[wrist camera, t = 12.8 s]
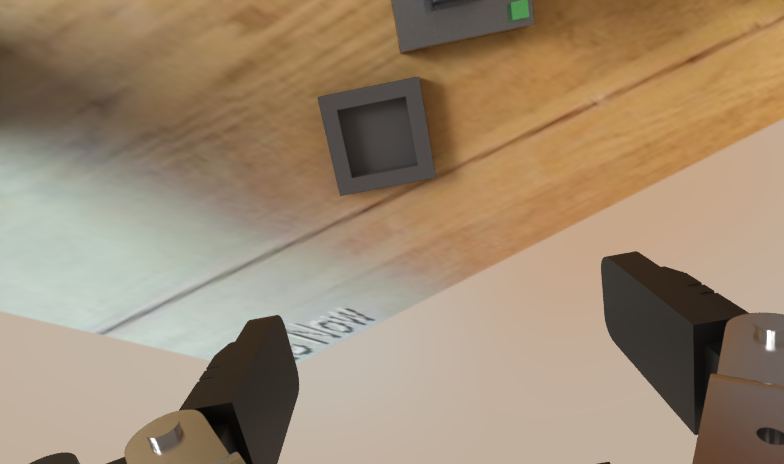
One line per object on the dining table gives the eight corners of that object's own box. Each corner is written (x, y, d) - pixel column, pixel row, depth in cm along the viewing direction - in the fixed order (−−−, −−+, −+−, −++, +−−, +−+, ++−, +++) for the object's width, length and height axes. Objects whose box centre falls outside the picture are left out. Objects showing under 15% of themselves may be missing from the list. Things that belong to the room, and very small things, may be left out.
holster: (342, 190, 42) (340, 196, 40) (321, 96, 39) (317, 97, 38) (433, 173, 41) (435, 177, 39) (417, 76, 39) (418, 76, 37)
